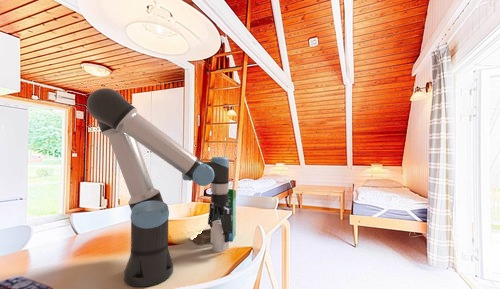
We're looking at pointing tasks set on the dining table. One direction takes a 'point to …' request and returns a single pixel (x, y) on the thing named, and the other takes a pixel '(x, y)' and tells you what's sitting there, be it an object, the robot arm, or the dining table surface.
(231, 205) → the milk carton
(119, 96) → the robot arm
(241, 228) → the dining table surface
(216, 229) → the paper roll
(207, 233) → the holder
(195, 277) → the dining table surface
